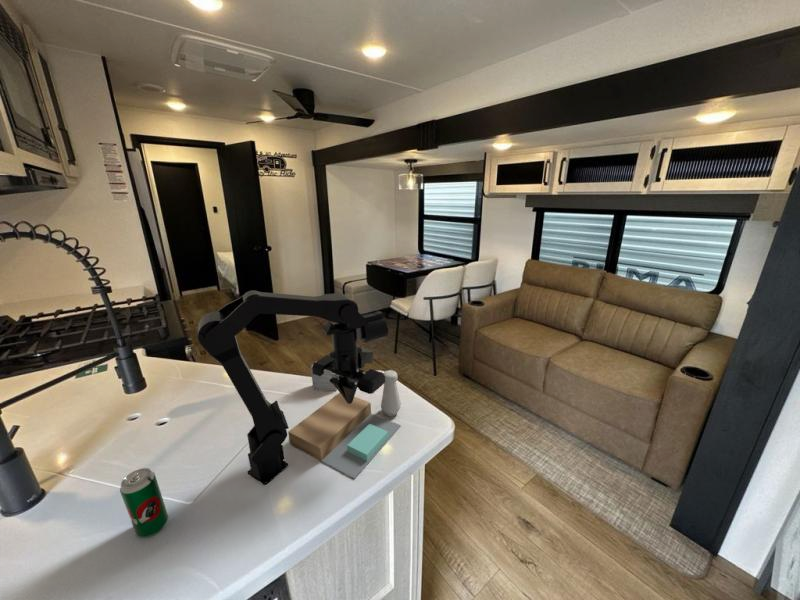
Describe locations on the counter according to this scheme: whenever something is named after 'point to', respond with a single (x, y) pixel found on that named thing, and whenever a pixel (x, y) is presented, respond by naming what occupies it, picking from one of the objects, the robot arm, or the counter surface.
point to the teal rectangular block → (367, 442)
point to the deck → (328, 426)
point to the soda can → (144, 502)
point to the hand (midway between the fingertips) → (349, 402)
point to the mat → (350, 462)
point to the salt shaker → (390, 394)
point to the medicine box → (323, 381)
